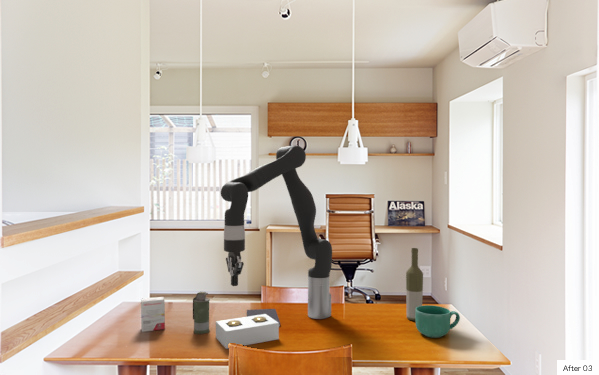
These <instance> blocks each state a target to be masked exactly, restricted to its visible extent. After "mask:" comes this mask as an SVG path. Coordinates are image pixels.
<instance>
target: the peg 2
mask: <svg viewBox="0 0 599 375" xmlns="http://www.w3.org/2000/svg"><path fill="white" fill-rule="evenodd" d="M254 321H255V323H259V322H265V321H266V318H265V317H255V318H254Z"/></svg>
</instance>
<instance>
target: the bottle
mask: <svg viewBox="0 0 599 375" xmlns="http://www.w3.org/2000/svg"><path fill="white" fill-rule="evenodd" d="M410 252H411V266H410V267H409V268H408V270H406V272H405V288H406V289H405V292H406V295H405V296H406V301H405V303H406V319H407V320H409V321H412V322H416V321H415V311H416V307H418V306H423V296H424V295H423V291H424V290H423V289H424V288H423V287H424V286H423V285H424V273H423V271H422V270H421V269H420V268H419V258H418V257H419V248H417V247H412V248H411V251H410Z"/></svg>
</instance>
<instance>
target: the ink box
mask: <svg viewBox="0 0 599 375" xmlns="http://www.w3.org/2000/svg"><path fill="white" fill-rule="evenodd" d="M140 300H141V301H140V311H141V312H140V314H141V316H140V318H141V319H140V320H141V322H140V323H141V333H145V332H153V331H161V330H165V329H166V322H165V320H166V316H165V314H166V313H165V312H166V311H165V310H166V309H165V308H166V306H165V305H166V304H165V297H164V296H159V297H158V296H157V297H145V298H141V299H140Z"/></svg>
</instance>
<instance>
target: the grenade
mask: <svg viewBox="0 0 599 375" xmlns="http://www.w3.org/2000/svg"><path fill="white" fill-rule="evenodd" d="M208 295H209V293H208V292H206V291H198V292H197V293H196V295H195V296H194V297H193V298H192V320H193V333H194V334H197V335H203V334H207V333H210V298H209V297H207V296H208Z"/></svg>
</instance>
